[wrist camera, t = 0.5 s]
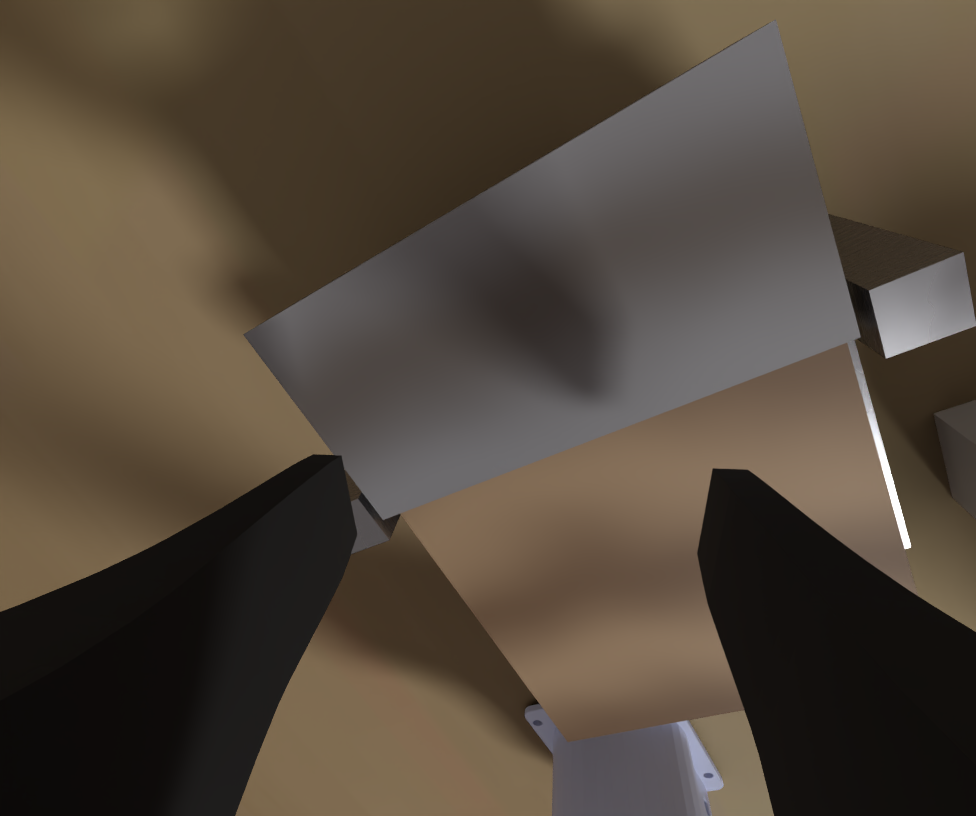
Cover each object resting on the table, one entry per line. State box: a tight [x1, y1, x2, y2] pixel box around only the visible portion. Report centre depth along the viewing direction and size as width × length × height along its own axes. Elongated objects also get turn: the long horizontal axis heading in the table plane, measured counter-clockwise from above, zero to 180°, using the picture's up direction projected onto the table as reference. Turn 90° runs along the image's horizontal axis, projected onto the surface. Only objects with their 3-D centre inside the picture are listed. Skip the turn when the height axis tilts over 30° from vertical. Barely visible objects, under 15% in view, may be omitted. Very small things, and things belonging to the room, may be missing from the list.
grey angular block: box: [345, 214, 976, 554], centre depth 18 cm, size 14×16×7 cm
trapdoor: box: [243, 20, 918, 742], centre depth 14 cm, size 18×12×2 cm
